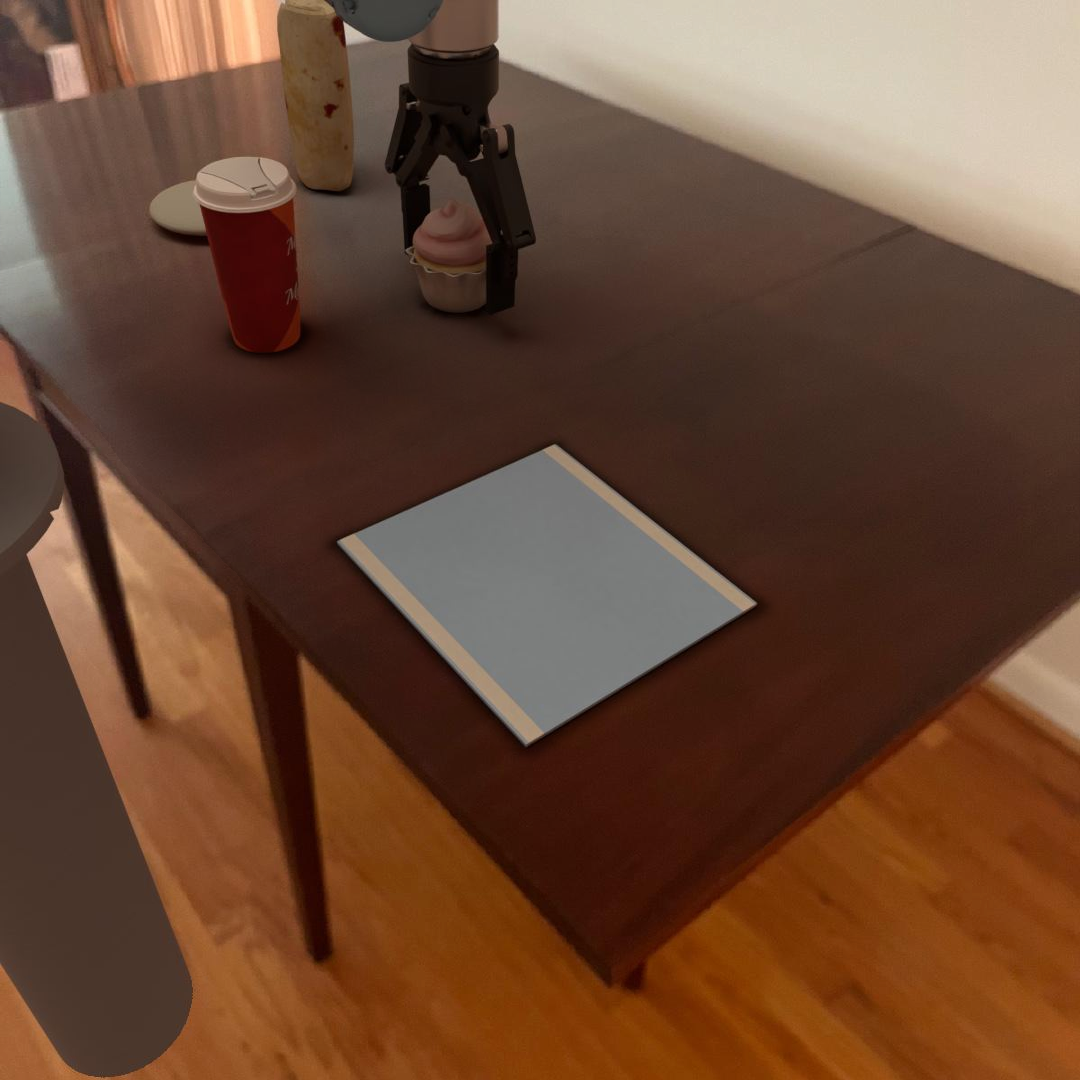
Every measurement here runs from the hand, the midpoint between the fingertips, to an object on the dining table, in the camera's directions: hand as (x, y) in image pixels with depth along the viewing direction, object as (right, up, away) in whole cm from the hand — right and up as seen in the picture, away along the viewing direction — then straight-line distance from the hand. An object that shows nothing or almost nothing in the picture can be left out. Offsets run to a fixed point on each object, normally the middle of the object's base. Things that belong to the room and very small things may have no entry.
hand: (457, 279), depth 100 cm
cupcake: (0, -2, +1) cm, 2 cm away
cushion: (-27, +9, +11) cm, 31 cm away
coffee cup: (-17, -6, -5) cm, 19 cm away
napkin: (+8, -27, -27) cm, 39 cm away
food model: (-16, +16, +20) cm, 30 cm away
